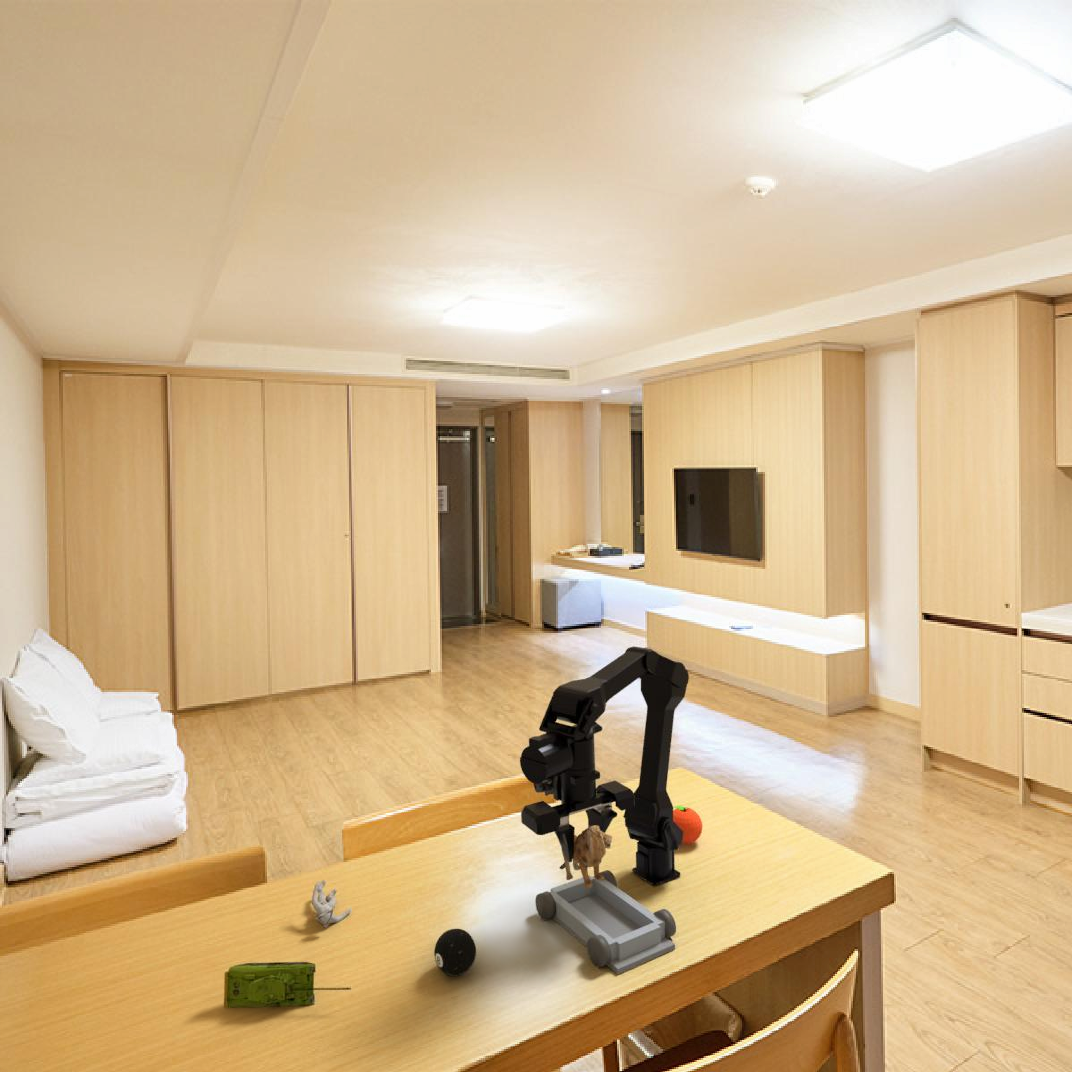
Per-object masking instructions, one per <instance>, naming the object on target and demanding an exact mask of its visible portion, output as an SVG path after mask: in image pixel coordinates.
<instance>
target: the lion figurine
mask: <svg viewBox="0 0 1072 1072" xmlns="http://www.w3.org/2000/svg"><path fill="white" fill-rule="evenodd" d="M612 841H613V836H612V835H611V834H607V833H606V832H605V833H604V832H602V831H601V830H600V828H599V826H596V825H594V826H590V827H589V828H588V827H587V828H585V829H584V830H582V831H581V833H580V834H578V835H577V834H575V833H574V850H573V858H572V867H573V870H574V871H579V870H580V872H581V875H582V877H583V879H584V883H585V888H590V887H592V883H591V880H590V878H589V876H588V875H589V872H588V868H593V876H594V877H595V879H596V880H597V881H603V880H604V876H600V874H599V873H600V865H601V863H602V859H603V858H604V857H605V856H606V853H607V850H606V849H608V850H610V849H611V847H612V846H611V844H612ZM560 848H561V853H562V857H563V861H564V862H563V864H561V865H560V866H559V869H560V870H564V869H565V872H566V873H565V874H566V877H565V879H566V881H570V880H572V879H574V876H573V874H572V871H571V866H570V865H571V864H570V862H568V861H567V860H566V857H565V855H564V852H563V850H562V847H561V846H560Z"/></svg>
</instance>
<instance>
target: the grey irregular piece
mask: <svg viewBox="0 0 1072 1072" xmlns="http://www.w3.org/2000/svg"><path fill="white" fill-rule="evenodd" d="M326 881H327V880H325V879H323V880H322V881H316V883H315V884H314V889H313V891H312V896H311V897H312V898H311V905H312V906H313V909H314V911H315V912H316V914H317V915H318V917H315V920H316V921H319V922H320V923H321V924H323V926H324V927H325V928H327V927H328V926H329V925H330V923H336V924H337V923H338V922H341V921H342V920H344V918H346V917H347V916H348V915H350V914H351V912H353V909H352V907H348V908H347V909H346V911H345V912H343V913H341V914H339V915H337V916H336V915H335V913H334V912H335V911H334V908H335V906H336V905H337V901H338V900H337V898H336V897H335V895H336V893H337V892H338V891H337V889H336V888H334V889H332V890H331V891H330V893H329V894H327V895H326V892H325V889H324V887H325V885H326V883H327V882H326ZM327 901H328V902H327Z"/></svg>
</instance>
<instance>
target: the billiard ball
mask: <svg viewBox="0 0 1072 1072" xmlns="http://www.w3.org/2000/svg"><path fill="white" fill-rule="evenodd" d="M476 947H477V946H476V944H475V941H474V938H473V936H471V934H470V933H469V932H467V931H466V930H465V929H461V928H450V929H448V930H446V931H445V932H443V933H442V934H441V935H440V936H439V938H438V939H437V941H436V943H435V945H434V952H433V954H434V955H433V956H434V961H435V963H436V965H437V967H438V969H439V970H440V971H441V973H443V974H445V975H446V976H447V975H448V976H451V977H452V976H453V977H456V976H461V975H464V974H465V973H467V971H468V970H470V968H471V967H472V966H473V964H474V962H475V959H476V955H477V948H476Z"/></svg>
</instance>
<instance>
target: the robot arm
mask: <svg viewBox="0 0 1072 1072" xmlns="http://www.w3.org/2000/svg"><path fill="white" fill-rule="evenodd" d="M685 666H686V665H684V663H683V662H681V661H675V660H672V659H670V658H667V657H665V656H663V655H661V654H659V653H658V652H656V650H653V649H652V648H647V647H640V646H635V645H634V646H630V647H628V648H626V650H625V652H624V653H622V654H621V655H620V656H618V657H617V658H615V659H614V660H612V661H611V662H609V663H608V664H607V665H605V666H604V667H602V668H601V669H599V670H598V671H596V672H595V673H593V674H592V675H590V676H588V677H586V678H582V679H576V680H571V681H568V682H566V683H563V684H560V685H559V686H557V687H556V689H554V691H553V692H552V696H551V699H550V701H549V703H548V706H547V708H546V710H545V713H544V715H543V718H542V720H541V722H540V725H539V728H538V729H539V731H540V732H543V734H541V735H536V736H532V737H530V738H529V739H528V746H527V747H524V748H523V750H522V752H521V755H520V756H519V765H520V768H521V771H522V773H523V776H524V777H525V778H526V779H527V780H528V781H529V782H530V783H532V784H533V787H534V791H535V792H536V793H537V794H538V793H539V794H540V793H541V794H542V793H544V795H545V796H549V795H553V799H554V800H555V801H561V804H557V805H554V806H552V805H550V804H548V803H547V802H546V801H545V800H541V801H538V802H534V803H530V804H526V805H524V806H523V808H522V810H521V812H520V816H521V817H520V820H521V824H523V825H524V826H525V827H527V828H528V829H529V830H531V831H532V832H533V833H534V834H536V835H537V836H545V835H548V834H551V833H553V832H554V834H555V835H556V838H557V839H558V842H559V844H560V848H561V847H562V848H561V851H562V850H563V852H564V855H565V857H566V860H567V861H568V862H569V863H573V859H572V858H573V850H574V834H575V829H576V828H575V826H574V825H572V824H570V816H572V815H576V814H578V813H581V812H585V813H586V816H587V828H589V827H590V826H594V825H596V826H599V828H600V830H601V831H602V832H604V833H605V834H606V832H607V831H608V828H609V827H610V825H611V823H612V821H613V819H614V818H617V817H618V812H616V811H615V810H613V803H615V804H614V805H615V807H616V808H617V809H618V810H619V811H622V812H623V811H624V814H623V815H622V816H623V819H624V825H625V828H626V829H627V833H628V837H629V839H631V840H635V841H637V843H636V848H637V849H636V850H637V851H635V867H633V868H632V873H634V874H636V875H637V876H638V877H639V878H641V879H642V880H645V882H647V883H649V884H650V885H652V886H658V885H661V884H663V883H666V882H669V881H671V880H673V879H676V878H678V877H681V872H680V871H679V870H677V869H675V868H676V867H675V865H676V863H675V851H678V850H679V849H680V846H681V845H683V844H682V840H683V831H682V830H681V829H680V828H679V826H678V825H677V824H676V823H675V822H674V821H673V811H674V806H673V803H672V800H671V799H670V796H669V794H668V791H667V787H668V786H667V785H668V776H669V775H668V774H669V767H670V765H669V764H670V756H671V749H672V748H671V747H672V738H673V737H672V736H673V727H674V718H675V711H676V709H677V707H678V706H679V705H680V704H681V702H682V701H683V699H684V698H685V697H686V691H687V687H688V684H689V679H690V677H689V671H688V669H686V667H685ZM638 679H640V693H641V695H642V697H643V700H644V702H645V704H646V707H647V708H646V719H645V725H644V726H645V727H644V733H643V734H644V736H643V744H642V745H643V746H642V752H641V754H642V755H641V762H640V770H639V771H640V773H639V782H638V786H637V788H636V789H635V791H634V792H633V790H632V789H631V788H629V787H628V786H627V785H624V784H622V783H620V782H618V781H617V780H612V781H608V782H605V783H601V784H598V785H597V781H596V780H599V779H601V772H600V771H599V770H597V769H596V756H595V755H596V753H595V751H596V749H595V734H597V733H599V732H602V731H603V726H601V724H599V723H598V722H597V721H598V720H599V718H600V717H601V716H602V715H603V714H604V713H605V712H606V706H607V703H608V702H609V701H610V700H611V699H612V698H614V697H615V696H616V695H618V694H619V693H620V692H621V691H623V690H624V689H626V688H627V687H628V686H630V685H631V684H632V683H634V682H635V681H636V680H638ZM557 720H559V721H561V722H565V723H570V724H573V725H568V724H565V723H561V722H557Z"/></svg>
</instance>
